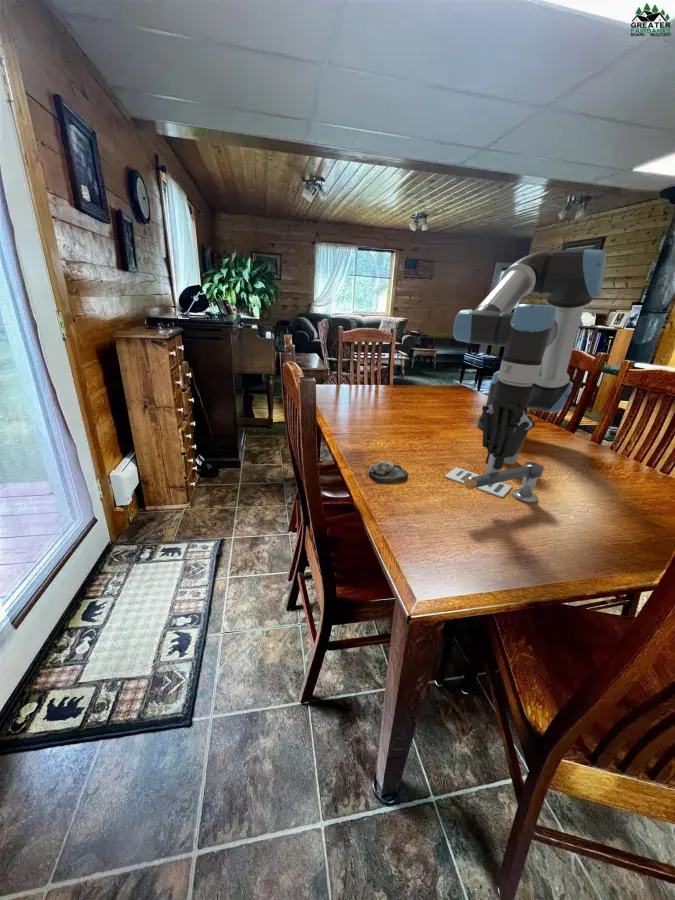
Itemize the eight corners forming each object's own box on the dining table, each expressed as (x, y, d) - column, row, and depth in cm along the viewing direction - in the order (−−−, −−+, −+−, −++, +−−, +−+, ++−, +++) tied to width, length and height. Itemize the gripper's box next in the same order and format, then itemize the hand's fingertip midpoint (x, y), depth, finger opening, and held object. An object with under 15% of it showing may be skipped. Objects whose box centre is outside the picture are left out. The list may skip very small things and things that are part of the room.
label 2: (486, 478, 100) (486, 477, 100) (511, 487, 96) (512, 485, 96) (475, 488, 94) (476, 486, 94) (502, 498, 90) (503, 496, 90)
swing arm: (529, 469, 92) (532, 459, 90) (545, 476, 88) (548, 466, 87) (457, 485, 81) (460, 474, 80) (471, 494, 78) (474, 483, 77)
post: (515, 488, 95) (522, 466, 93) (539, 496, 92) (547, 474, 89) (509, 496, 91) (515, 474, 88) (534, 505, 88) (541, 482, 85)
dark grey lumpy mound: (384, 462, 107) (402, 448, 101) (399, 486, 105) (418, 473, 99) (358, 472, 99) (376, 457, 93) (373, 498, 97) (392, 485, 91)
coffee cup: (523, 467, 108) (537, 421, 102) (494, 464, 110) (506, 418, 104) (516, 456, 116) (528, 413, 110) (489, 453, 117) (500, 410, 111)
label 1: (456, 468, 105) (456, 466, 105) (479, 476, 101) (479, 474, 101) (444, 477, 100) (444, 475, 99) (468, 485, 95) (468, 484, 95)
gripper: (480, 375, 79) (459, 469, 89) (528, 390, 68) (498, 494, 78) (505, 374, 82) (482, 465, 92) (555, 388, 71) (523, 489, 81)
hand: (490, 478), depth 85 cm, fingers closed
